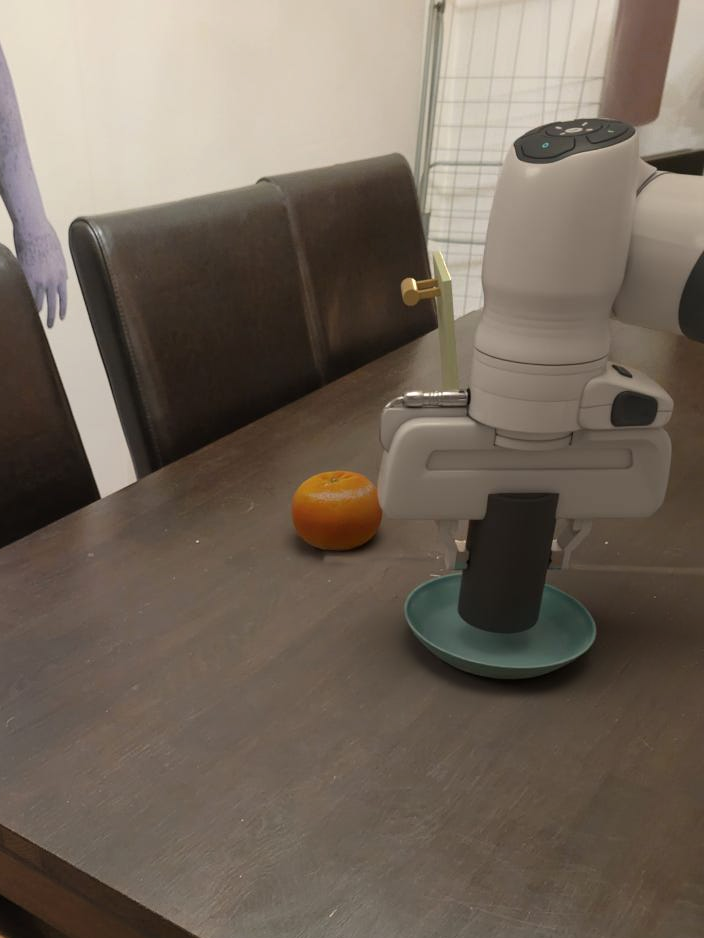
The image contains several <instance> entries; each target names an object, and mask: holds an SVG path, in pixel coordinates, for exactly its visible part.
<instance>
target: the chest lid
mask: <svg viewBox="0 0 704 938" xmlns="http://www.w3.org/2000/svg"><path fill="white" fill-rule="evenodd" d="M432 261H433V262H432V265H433V276H434V277H433V278H429V279H424V280H417V281H416V280H415V279H414V278H413V277H406V278H405V279H403V280H402V281H401V284H400V291H401V292H400V293H401V296H402V301H403V303H404V304H405V305H406V306H408V307H414V306H415V305H417V304H418V303H419V301H420V300H425V299H431V298H435V302H436V304H435V305H436V315H437V316H436V317H437V327H438V328H437V329H438V330H437V331H438V342H439V355H440V369H441V370H440V371H441V380H442V381H441V382H442V390H458V389H460V387H459V384H460V383H459V374H458V373H459V372H458V371H459V370H458V358H457V357H458V356H457V341H456V327H455V326H456V325H455V312H454V298H453V283H452V278H451V275H450V273H449V270H448V268H447V265H446V263H445V260H444V257H443V254H442V252H441V251H440V250H437V251H433V252H432Z"/></svg>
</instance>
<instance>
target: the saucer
mask: <svg viewBox="0 0 704 938" xmlns="http://www.w3.org/2000/svg"><path fill="white" fill-rule="evenodd" d="M461 578H462V572H455V573H450V574H449V573H448V574H445V575H440V576H437V577H434V578H432V579H429V580H426V581H425V582H423V583H421V584H419V585H417V586H416V587H415V588H414V589H413V590H412V591H410V592H409V594H408V595H407V597H406V599H405V602H404V605H403V614H404V618H405V620H406V621H407V624H408V626H409V628H410V629H411V631H412V633H413V634H414V635H415V637H416V638H417V639H418V641H419V642H420V643H421V644H422V645H423V646H424V647H426V649H427V650H429V651H430V652H431V653H432V654H433V655H435V656H436V657H437V658H438V659H440V660H441V661H443V662H445V663H446V664H448V665H450V666H452V667H453V668H456V669H458V670H460V671H463V672H466V673H469V674H471V675H476V676H480V677H484V678H491V679H497V680H498V679H500V680H521V679H530V678H536V677H539V676H544V675H545V674H548V673H551V672H553V671H557V670H558V669H561V668H563V667H565V666H567V665H568V664H570V663H572V662H574V661H575V660H576V659H578V658H579V657H581V656H582V655H584V654H585V653H586V652H587V651H588V650H589V649H590V648H591V647H592V645H593V643H594V642H595V640H596V636H597V625H596V622H595V619H594V618H593V616H592V615H591V613H590V612H589V610H588V608H586V607H585V606H584V604H582V603H581V602H580V601H579V600H578V599H576V598H575V597H573V596H572V595H570V594H569V593H567V592H565V591H563V590H562V589H559V588H558V587H555V586H553V585H550V584H548V583H546V582H545V585H544V591H543V596H542V602H541V607H540V612H539V618H538V621H537V623H536V624H535V625H534V626H533V627H532V628H530V629H528V630H526V631H523V632H519V633H511V634H501V633H492V632H488V631H484V630H480V629H478V628H475V627H473V626H471V625H469V624H468V623H466V622H465V621H464V620H463V619H462V618H461V617H460V615H459V613H458V601H459V593H460V586H461Z"/></svg>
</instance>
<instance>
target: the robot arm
mask: <svg viewBox="0 0 704 938" xmlns="http://www.w3.org/2000/svg"><path fill="white" fill-rule="evenodd" d="M487 223H488V224H487V230H486V235H485V242H484V248H483V249H484V250H483V256H482V257H483V258H482V267H481V273H480V274H481V275H480V280H481V287H482V288H481V289H482V293H483V306H482V314H481V316H480V317H481V318H480V320H479V323H478V325H477V327H476V330H475V333H474V335H473V336H474V337H473V340H472V348H471V356H470V357H471V358H470V366H469V373H468V380H467V381H468V382H467V388H465V389H461V388H459V389H458V390H443V389H440V390H433V391H431V390H430V391H424V390H422V389H421V390H420V389H412V390H406V391H403V392H402V395H401V396H398V397H395V398H393V399H392V400H390V401H388V402H387V403H386V405H385V406H384V407H383V408H382V410H381V413H380V416H379V425H378V440H379V444H380V445H381V448H383V452H382V457H381V461H380V467H379V472H378V479H377V487H376V489H377V496H378V501H379V505H380V507H381V509H382V513H384V515H386V516H387V518H388V519H390V520H391V521H434V523H435V526H436V529H437V532H438V533H439V536H440V537H441V539H442V542H443V543H444V546H445V549H444V566H445V568H446V570H447V571H462V570H467V568H468V563H467V561H468V560H469V554H470V551H469V549H468V547H466V546H467V545H466V540H455V538H454V536H453V534H452V533H453V532H454V533H455V532H457V531H458V528H459V522H460V521H469V520H482V519H484V516H485V514H486V508H487V500H488V494H497V493H559V499H558V505H557V510H556V519H557V520H566V522H567V523H568V524H566V526H565V527H564V529H563V530H562V532H561V533H560V534H559V535H558V537H557V538H556V539H553V542H552V547H551V553H550V558H549V564H548V569H547V570H568V568H569V564H570V559H571V554H572V551H574V550H575V549H576V548H577V547H578V546H579V545H580V544H581V542H582V541H583V540H584V539H585V538H586V537H587V536H588V535H589V534H590V533H591V532H592V527H593V523H594V520H595V519H596V520H597V519H598V520H599V519H602V520H603V519H604V520H609V519H617V520H618V519H647V518H649V517H651V516H652V515H653V514H654V513H655V512H657V511H658V510H659V509H660V508H661V507H662V505H663V503H664V501H665V497H666V493H667V488H668V483H669V477H670V470H671V464H672V463H671V461H672V449H673V448H672V441H671V437H670V435H669V433H668V432H667V431H666V430H665V429H664V428H663V427H664V426H666V425H667V424H668V423H669V422H670V420H671V418H672V416H673V411H674V407H675V403H674V400H673V399H672V397H671V396H670V395H669V394H668V392H667V391H666V390H665V389H664V388H663V387H662V386H661V385H660V384H658V383H657V382H656V381H655V380H654V379H652V378H651V377H650V376H648V375H647V374H645V373H643V372H641V371H640V370H639V369H636V368H633V367H630V366H627V365H623V364H619V363H617V362H614V361H610V360H609V355H610V351H611V333H610V320H613V321H618V322H620V323H621V324H625V325H628V326H629V325H630V326H635V327H638V328H639V327H640V328H644V329H647V330H648V329H649V330H653V331H659V332H663V333H668V334H672V335H677V336H681V337H685V338H686V339H688V340H691V341H693V342H697V343H700V344H702V345H704V175H696V174H695V175H694V174H682V173H676V172H672V171H665V170H658V168H657V167H655V166H653V165H651V164H649V163H648V162H647V161H644V160H643V159H642V158H641V157H640V140H639V133H638V131H637V129H636V128H635V127H634V126H633V125H632V124H629V123H628V122H624V121H622V120H619V119H614V118H605V117H581V118H573V119H570V120H569V119H568V120H563V121H561V120H557V121H553V122H549V123H546V124H541V125H539V126H535V127H534V128H532V129H529V130H528V131H526V132H525V133H524V134H522V135H521V136H519V137H518V138H516V139H515V140H514V141H513V142H512V144H511V145H510V147H509V149H508V151H507V153H506V155H505V158H504V161H503V164H502V166H501V169H500V172H499V176H498V179H497V182H496V186H495V190H494V194H493V199H492V202H491V208H490V213H489V217H488V222H487ZM400 403H401V404H400ZM398 404H399V405H398Z"/></svg>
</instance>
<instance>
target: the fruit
mask: <svg viewBox="0 0 704 938" xmlns="http://www.w3.org/2000/svg"><path fill="white" fill-rule="evenodd" d="M290 509H291V519H292V520H291V521H292V523H293V526H294V529H295V530H296V532H297V534H298V535H299V536H300V538H302V540H303V541H304V542H306V543H307V544H309V545H310V546H312V547H314V548H316V549H320V550H323V551H325V550H326V551H348V550H349V551H350V550H353V549H355V548H358V547H361V546H363V545H364V544H366V543H367V542H369V541H370V539H372V538H373V537H374V536H375V535H376V533H377V532H378V530H379V528H380V526H381V522H382V518H383V510H382V509H381V507H380V505H379V501H378V496H377V487H376V486H375V484H373V482H372V481H371V480H370V479H369V478H368V477H366V476H365V475H362V474H361V473H359V472H354V471H347V470H336V471H326V472H320V473H318V474H315V475H313V476H311V477H309V478H307V480H305V481H303V482H302V483H301V485H300V486H299V487H298V488H297V489H296V491H295V493H294V494H293V498H292V502H291V507H290Z"/></svg>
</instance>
